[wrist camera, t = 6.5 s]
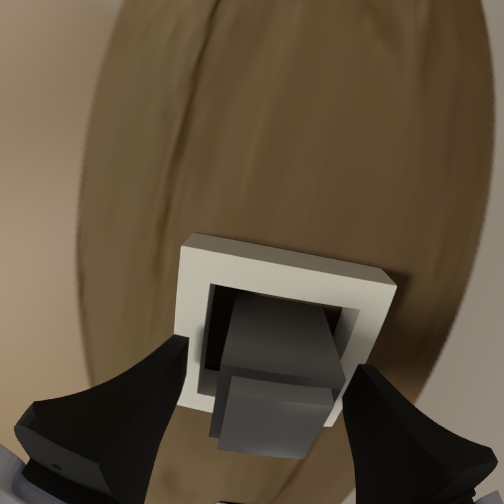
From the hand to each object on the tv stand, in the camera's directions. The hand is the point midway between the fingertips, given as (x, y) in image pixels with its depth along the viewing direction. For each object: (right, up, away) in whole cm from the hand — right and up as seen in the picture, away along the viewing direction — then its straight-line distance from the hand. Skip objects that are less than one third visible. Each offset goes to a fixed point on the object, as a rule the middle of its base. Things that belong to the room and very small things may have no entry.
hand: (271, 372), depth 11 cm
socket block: (0, +1, +3) cm, 3 cm away
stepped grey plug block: (0, +1, +3) cm, 3 cm away
